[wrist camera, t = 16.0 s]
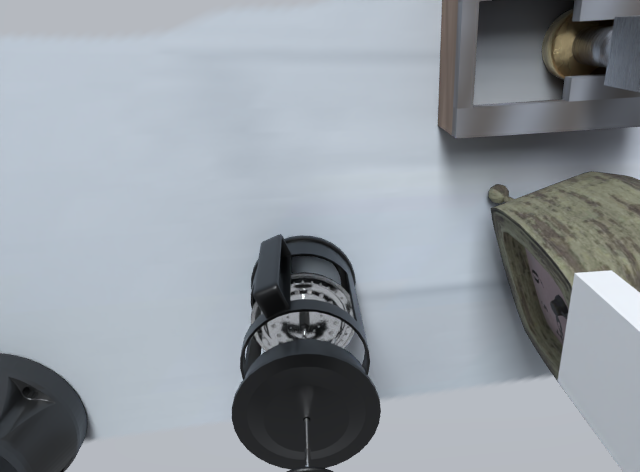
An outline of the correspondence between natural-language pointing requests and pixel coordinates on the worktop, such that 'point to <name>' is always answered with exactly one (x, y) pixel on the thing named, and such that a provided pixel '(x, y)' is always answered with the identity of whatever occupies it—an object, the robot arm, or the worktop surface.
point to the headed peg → (595, 49)
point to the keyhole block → (537, 116)
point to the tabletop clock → (565, 247)
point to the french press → (303, 363)
